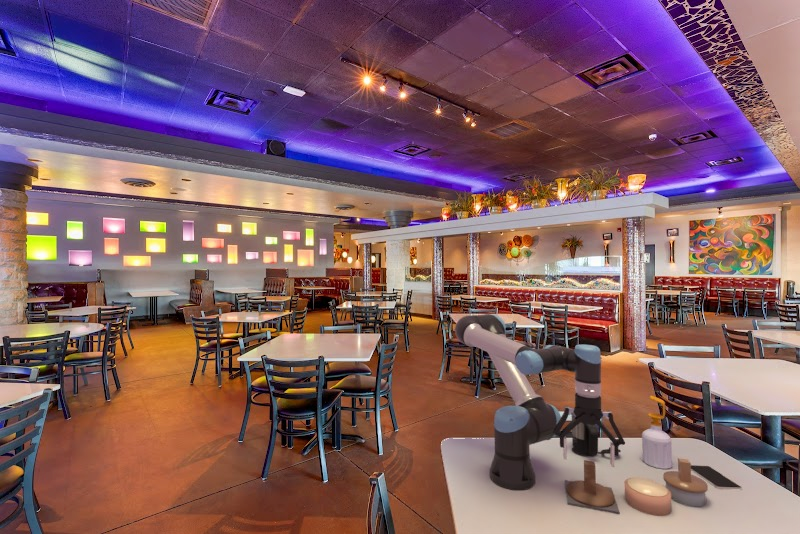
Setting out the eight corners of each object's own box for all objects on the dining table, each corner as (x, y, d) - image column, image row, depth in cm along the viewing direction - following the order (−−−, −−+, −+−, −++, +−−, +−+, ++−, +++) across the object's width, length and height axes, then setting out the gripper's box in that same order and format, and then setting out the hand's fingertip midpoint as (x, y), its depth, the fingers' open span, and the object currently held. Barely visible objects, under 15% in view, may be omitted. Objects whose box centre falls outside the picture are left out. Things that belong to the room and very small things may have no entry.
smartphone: (708, 465, 138) (743, 487, 124) (708, 469, 138) (743, 491, 123) (685, 465, 139) (717, 486, 124) (685, 468, 139) (717, 490, 124)
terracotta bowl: (629, 510, 113) (628, 492, 113) (621, 489, 124) (621, 473, 124) (677, 519, 108) (676, 500, 108) (664, 497, 120) (664, 480, 120)
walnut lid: (568, 502, 116) (567, 469, 116) (565, 480, 129) (565, 450, 129) (618, 511, 111) (617, 477, 111) (610, 488, 124) (610, 456, 124)
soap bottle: (644, 455, 148) (642, 392, 149) (673, 462, 142) (671, 396, 143) (641, 464, 141) (639, 397, 142) (671, 472, 135) (669, 402, 136)
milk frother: (566, 448, 155) (565, 411, 155) (597, 443, 159) (596, 407, 160) (593, 464, 141) (592, 424, 142) (626, 458, 145) (625, 419, 146)
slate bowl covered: (669, 503, 116) (668, 465, 116) (659, 485, 126) (658, 450, 127) (714, 511, 112) (713, 472, 113) (699, 491, 123) (698, 455, 123)
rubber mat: (567, 504, 116) (567, 502, 116) (565, 481, 129) (565, 479, 129) (619, 514, 111) (619, 512, 111) (611, 489, 124) (611, 487, 124)
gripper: (546, 393, 122) (546, 459, 121) (635, 402, 113) (636, 474, 113) (546, 386, 129) (546, 449, 129) (630, 395, 120) (630, 462, 120)
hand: (588, 461), depth 121 cm, fingers open, 13 cm apart
